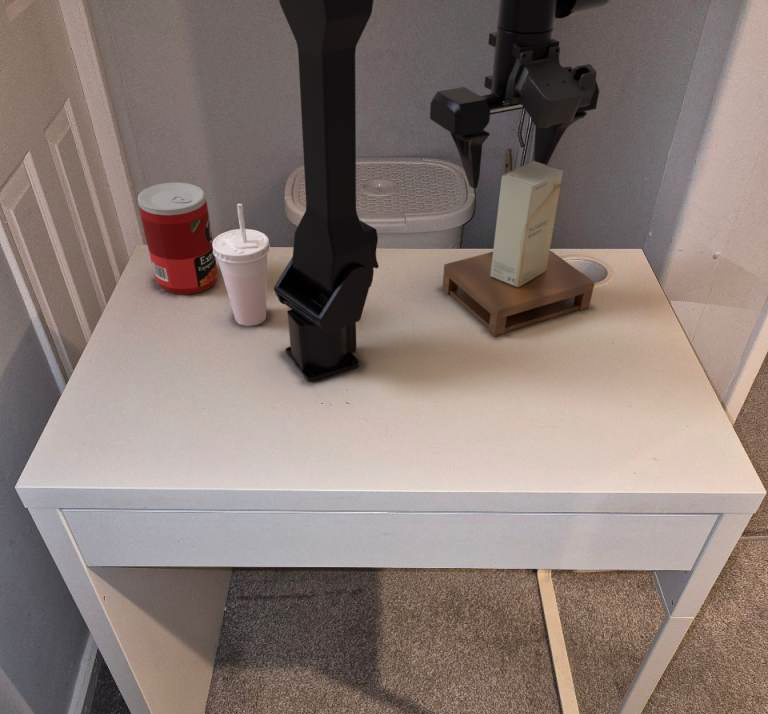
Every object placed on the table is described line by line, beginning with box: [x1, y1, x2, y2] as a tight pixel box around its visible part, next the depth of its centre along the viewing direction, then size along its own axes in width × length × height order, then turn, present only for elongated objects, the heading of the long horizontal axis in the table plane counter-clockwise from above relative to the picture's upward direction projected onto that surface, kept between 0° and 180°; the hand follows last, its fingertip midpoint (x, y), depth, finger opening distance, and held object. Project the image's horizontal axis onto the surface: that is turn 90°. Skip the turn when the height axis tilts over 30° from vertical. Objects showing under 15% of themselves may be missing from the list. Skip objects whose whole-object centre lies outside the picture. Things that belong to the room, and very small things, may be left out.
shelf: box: [442, 250, 596, 337], centre depth 94 cm, size 14×12×4 cm
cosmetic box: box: [490, 160, 564, 287], centre depth 88 cm, size 6×4×12 cm
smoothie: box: [212, 203, 271, 327], centre depth 87 cm, size 6×6×14 cm
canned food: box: [137, 182, 219, 295], centre depth 94 cm, size 8×8×11 cm
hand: (506, 179), depth 89 cm, fingers open, 9 cm apart
